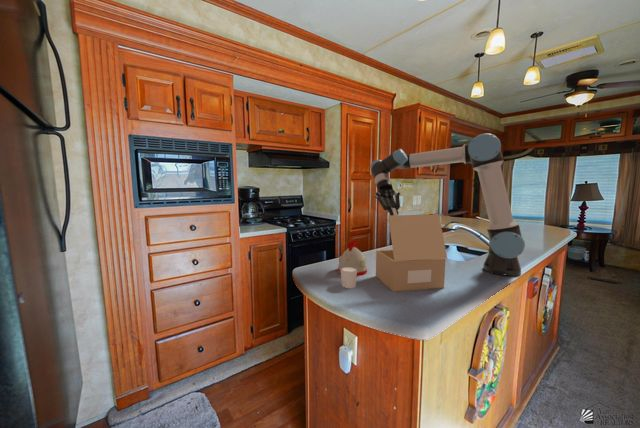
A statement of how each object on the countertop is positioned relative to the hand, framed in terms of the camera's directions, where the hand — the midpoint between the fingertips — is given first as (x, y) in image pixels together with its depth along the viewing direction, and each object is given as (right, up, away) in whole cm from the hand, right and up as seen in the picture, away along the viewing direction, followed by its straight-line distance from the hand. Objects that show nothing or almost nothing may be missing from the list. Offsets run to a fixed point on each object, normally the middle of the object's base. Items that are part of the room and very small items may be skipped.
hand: (396, 220), depth 121 cm
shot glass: (-23, -27, -12) cm, 38 cm away
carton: (+3, -26, -7) cm, 27 cm away
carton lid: (+4, -6, -15) cm, 17 cm away
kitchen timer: (-19, -25, +7) cm, 32 cm away
